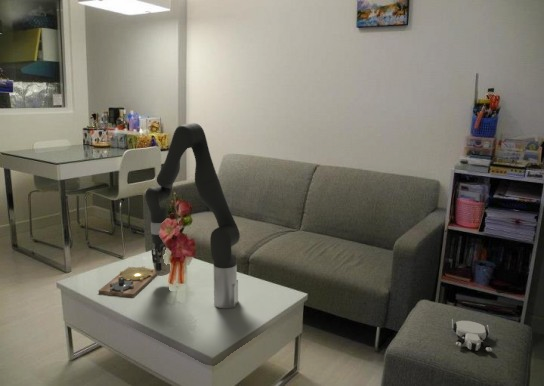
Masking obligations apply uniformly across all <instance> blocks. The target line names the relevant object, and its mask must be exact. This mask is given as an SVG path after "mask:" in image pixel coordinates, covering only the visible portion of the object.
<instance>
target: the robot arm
mask: <svg viewBox="0 0 544 386" xmlns="http://www.w3.org/2000/svg"><path fill="white" fill-rule="evenodd" d="M209 148H210V147H209V145H208V141H207V137H206V134H205V131H204V128H203V127H202V126H201V125H200V124H198V123H195V122H192V123H185V124H181V125H179V126H177V127H176V128H175V131H173V134H172V138H171V142H170V145H169V149H168V151H167V153H166V154H167V155H166V158H165V161H164V163H163V165H162V166H161V168H160V170H159V172H158V174H157V176H156V183H157V184H158V185H154V186H151V187H147V189H146V190H145V193H144V194H145V195H144V198H145V202H146V205H147V207H148V210H149V213H150V236H151V243H153V244H154V245H155V246H154V249H151V251H150V252H151V258H152V259H151V260H152V264H153V263H156V270H157V271H161V258H162V257H163V255H162V254H163V251H164V249H165V248H166V247H165V245H164V244H163V242H162V240H161V239H160V237H159V234H158V232H159V230H160V225H161V223H162V222H163V221H164V220H165V219H166V218H167V216H168V210H167V208H166V207H165V206H161V205H160V203H161V202H165V201H167V200H168V199H169V198H170V197H171V194H172V191H173V186H174V185H173V184H174V183H175V181H176V179H177V177H178V175H179V174H180V169H181V159H182V156H183V155H184V153H185V152H186V151H187V150H188V149H192V150H191V151H192V153H193V156H194V159H195V160H194V161H195V167H194V168H195V171H194V184H195V187H196V189H197V190H196V191H197V192H198V195H199V197H200V199H201V201H202V202H203V203H204V205H205V206H206V207H207V208H208V209H209V210H210V211H211V212H212V214H213V215H214V217H215V220H216V222H217V225H218V227H216V228H214V229H213V230H212V231H211V234H210V255H211V259H212V261H213V262H212V263H213V302H214V303H213V304H214V306H215V307H216V308H220V309H231V308H235V307H236V306H237V304H238V302H239V279H238V278H237V277H238V276H237V274H238V273H237V270H238V269H237V263H238V262H237V261H238V260H237V257H236V256H235V255H234V254H232V247H234V246H235V245H237V243H238V242H239V241H240V238H241V237H240V236H241V234H240V230H239V228H238V225H237V223H236V221H235V219H234V216H233V214H232V212H231V210H230V208H229V205H228V203H227V200H226V197H225V194H224V191H223V188H222V185H221V183H220V180H219V177H218V174H217V172H216V168H215V166H214V163H213V162H214V161H213V159H212V157H211V154H210V149H209ZM158 253H161V255H158Z"/></svg>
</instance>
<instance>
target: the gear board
mask: <svg viewBox="0 0 544 386" xmlns="http://www.w3.org/2000/svg"><path fill="white" fill-rule="evenodd" d="M157 276H158V275H157V274H156V272H155V269H154V268H147V267H146V266H143V265H142V266H141V267H140V266H139V267H137V266H136V267H135V266H128V267H126V268H125V269H124V270H120V271H119V273H118V275H116V276H115V277H114V278H113V279H111V280H110V281H109V282H107V283H106V284H105V285H103V287H101V288H100V289H98V294H99V295H108V296H109V295H110V296H116V297H117V296H118V297H124V298H125V297H126V298H135V297H136V296H137V295H138V294H139V293H140V292H141V291H142V290H143V289H144V288H145V287H147V286H148V285H149V284H150V283H151V282H152V281H153V280H154V279H155V278H156V277H157Z"/></svg>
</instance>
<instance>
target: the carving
mask: <svg viewBox="0 0 544 386" xmlns="http://www.w3.org/2000/svg"><path fill="white" fill-rule="evenodd" d="M165 250H166V248H165V249H164V251H163V254H162V255H164V254H165ZM158 255H161V253H158ZM152 264H153V269H155V272H156V274H157V276H158V277H163V276H167V275H169V274H170V273H171V271H170V264H167V265H166V264H165V263H164V259H163V257H162V258H161V271H157V270H156V263H153V262H152Z"/></svg>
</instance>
